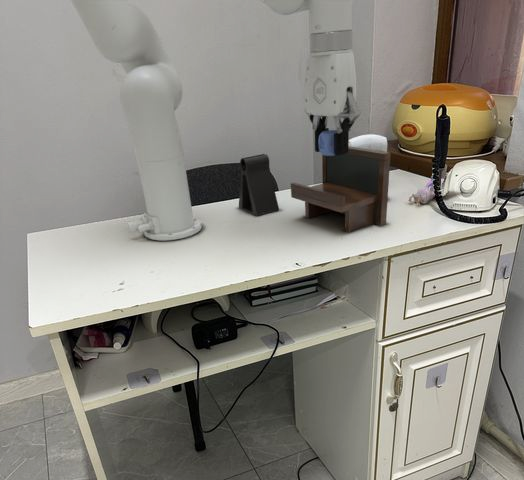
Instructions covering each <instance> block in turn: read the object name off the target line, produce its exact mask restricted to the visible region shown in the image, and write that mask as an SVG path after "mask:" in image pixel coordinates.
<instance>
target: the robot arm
mask: <svg viewBox="0 0 524 480" xmlns="http://www.w3.org/2000/svg"><path fill="white" fill-rule="evenodd" d="M70 1H71V3H72V5H73V7H74V8H75V10H76V12H77V14H78V16H79V17H80V19H81V22H82V23H83V25H84V26H85V29H86V31H87V32H88V34H89V36H90V38H91V40H92V42H93V43H94V46H95V47H96V49H97V50H98V52H99V53H100V54H101V55H102V57H104V58H105V59H106V60H108V61H109V62H112V63H115V64H121V66H122V67H123V69H124V72H125V73H126V75H125V76H124V78H123V80H122V82H121V85H120V91H119V97H120V98H119V99H120V104H121V109H122V113H123V115H124V119H125V121H126V124H127V127H128V131H129V134H130V138H131V143H132V146H133V151H134V152H133V153H134V156H135V160H136V164H137V168H138V169H137V170H138V173H139V179H140V183H141V189H142V193H143V197H144V202H145V208H146V212H143V213H142V214H143V215H142V216H143V217H140V219H139V220H134V221H129V222H127V223H126V227H127V230H128V231H129V233H131V232H135V231H138V232H139V233H142V232H143V234H144V236H145V237H146V238H147V239H150V240H152V241H154V240H155V241H175V240H180V239H185V238H189V237H191V236H194V235H196V234H197V233H199V232H200V231H201V230H202V227H203V226H202V221H201V220H200V219H198V218H196V217H194V214H193V213H194V212H193V207H192V201H191V195H190V189H189V181H188V176H187V169H186V163H185V157H184V152H183V145H182V139H181V133H180V130H179V126H178V122H177V121H178V120H177V117H176V113H175V111H176V110H177V109H178V108H179V106H180V105H181V102H182V100H183V86H182V81H181V79H180V76H179V74H178V72H177V69H176V68H175V64H174V63H173V62H172V59H171V56H170V55H169V53H168V52H167V49H166V47H165V45H164V43H163V41H162V39H161V37H160V35H159V33H158V31H157V29H156V27H155V25H154V24H153V22H152V20H151V19H150V17H149V16H148V15H147V14H146V12H145V11H144V10H142V9H141V8H140V7H138V6H137V5H134V4H131V3H129V2H128V0H70ZM260 1H261V2H262V3H264V4H265V5H266V6H267V7H268V8H270V9H271V10H272V11H273V12H274V13H276V14H277V15H280V16H290V15H294V14H297V13H301V12H304V11H308V33H309V55H307V58H306V65H305V76H304V77H305V78H304V112H305V114H306V115H307V116H308V118H309V121H310V122H311V124H312V126H311V127H312V130H313V131H314V151H315V153H320V150H319V145H318V139H319V135H320V134H321V133H322V132H323V131H328V130H330V128H328V127H327V126H328V122H329V121H328V120H329V117H331V118H332V117H333V120H334V125H335V130H336V131H337V133H334V155H337V156H338V155H342V154H346V153H348V145H349V140H350V139H349V138H350V137H349V134H350V131H352V126H353V125H354V124H355V121H357V119H359V117H360V116H361V110H360V107H359V105H358V104H357V73H356V62H355V61H356V60H355V55H354V54H355V53H354V51H353V20H354V19H353V18H354V17H353V16H354V15H353V13H354V10H353V9H354V0H260ZM342 119H343V120H342Z"/></svg>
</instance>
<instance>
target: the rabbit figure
mask: <svg viewBox="0 0 524 480" xmlns="http://www.w3.org/2000/svg"><path fill="white" fill-rule="evenodd" d="M433 175H434V174H432V175H431V176H430V180H429V181H428V182H427V184H426V185H425V186H424V188H422V189H418V190H417V192H416V193H412V194H411V195H410V196H409V199H408V202H409V204H411V203H412V198H413V201H414V202H416V204H415V205H418V207H419V206H420V204H422V205H425V204H427V203H428V202H429V201H430V199H433V198H434V197H435V194H434V188H433ZM440 179H441V186H442V183H443V181H444V178H440Z"/></svg>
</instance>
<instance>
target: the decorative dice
mask: <svg viewBox="0 0 524 480" xmlns="http://www.w3.org/2000/svg"><path fill="white" fill-rule="evenodd" d="M334 133H337V131H336V129H329V130H328V131H323V132H322V133H321V134H320V135H319V139H318V145H319V150H320V152H319V153H320V154H321V155H325V156H333V155H334Z"/></svg>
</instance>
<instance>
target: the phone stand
mask: <svg viewBox="0 0 524 480" xmlns="http://www.w3.org/2000/svg"><path fill="white" fill-rule="evenodd" d="M239 166H240V180H239V193H238V194H239V195H238V196H239V197H238V208H239V209H240V210H242V211H245V212H247V213H249V214H251V215H254V216H256V217H258V216H262V215H266V214H269V213H273V212H277V211H279V210H280V208H279V207H280V206H279V204H278V198H277V194H276V190H275V185H274V181H273V177H272V174H271V168H270V158H269V156H268V154H265V153H262V154H255V155H252V156H247V157H241V158H240V160H239Z"/></svg>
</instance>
